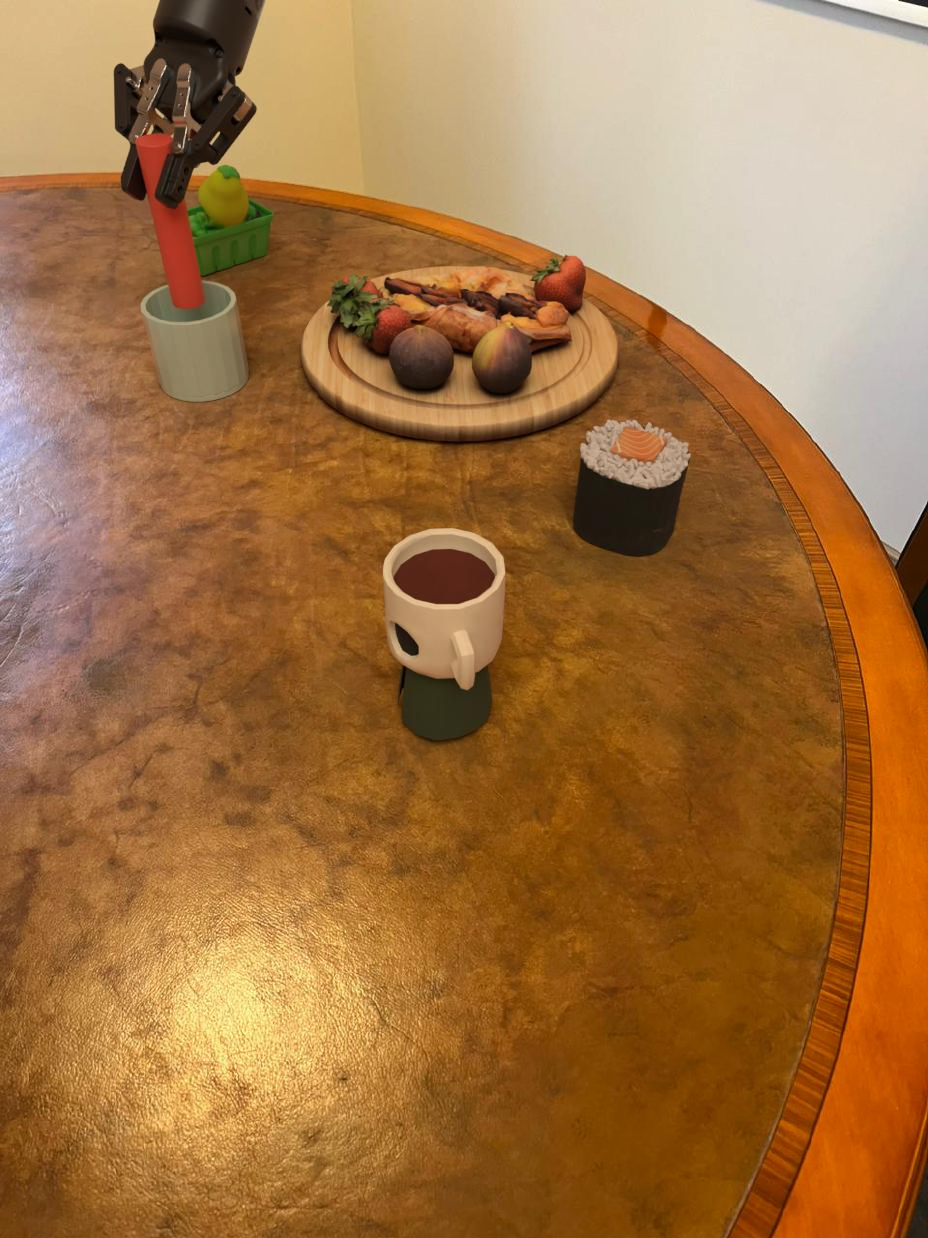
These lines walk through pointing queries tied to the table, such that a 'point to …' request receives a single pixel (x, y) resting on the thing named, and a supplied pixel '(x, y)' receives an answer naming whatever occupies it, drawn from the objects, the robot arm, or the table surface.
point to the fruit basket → (227, 223)
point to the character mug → (444, 627)
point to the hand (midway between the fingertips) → (148, 198)
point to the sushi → (629, 487)
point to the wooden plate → (461, 350)
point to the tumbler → (196, 344)
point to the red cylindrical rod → (171, 227)
